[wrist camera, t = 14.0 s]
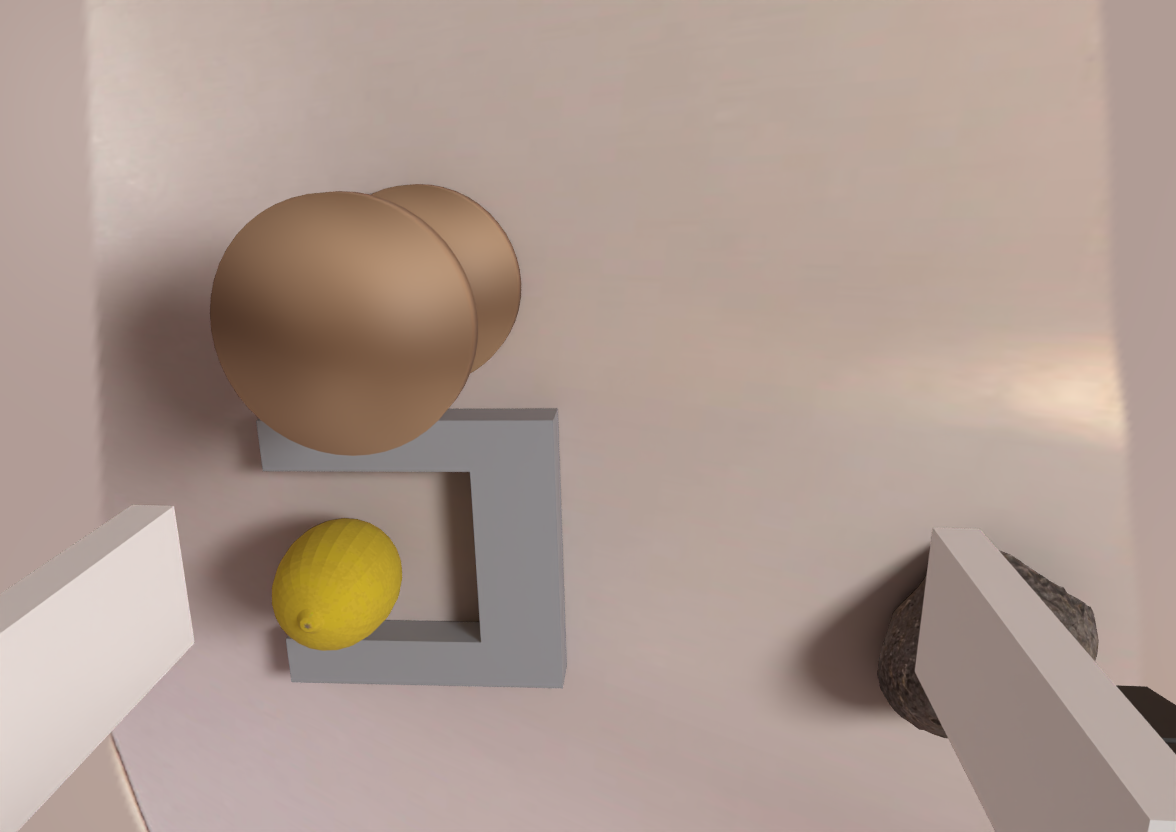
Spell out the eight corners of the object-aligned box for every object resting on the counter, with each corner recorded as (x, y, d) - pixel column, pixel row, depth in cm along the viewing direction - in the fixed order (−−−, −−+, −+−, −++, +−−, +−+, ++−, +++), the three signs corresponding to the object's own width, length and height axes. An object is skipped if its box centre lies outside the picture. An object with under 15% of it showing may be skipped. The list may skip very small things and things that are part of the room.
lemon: (301, 571, 45) (229, 656, 37) (329, 479, 43) (261, 547, 36) (401, 608, 45) (351, 700, 37) (433, 517, 44) (387, 594, 36)
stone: (1039, 526, 45) (982, 494, 38) (1156, 675, 41) (1118, 672, 33) (885, 624, 49) (806, 613, 42) (976, 770, 45) (906, 787, 37)
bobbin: (320, 186, 39) (191, 195, 28) (516, 181, 39) (462, 189, 28) (340, 379, 42) (229, 455, 31) (525, 378, 41) (478, 455, 30)
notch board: (274, 409, 42) (256, 420, 41) (557, 408, 41) (553, 420, 39) (306, 660, 46) (291, 682, 44) (566, 666, 45) (562, 688, 43)
